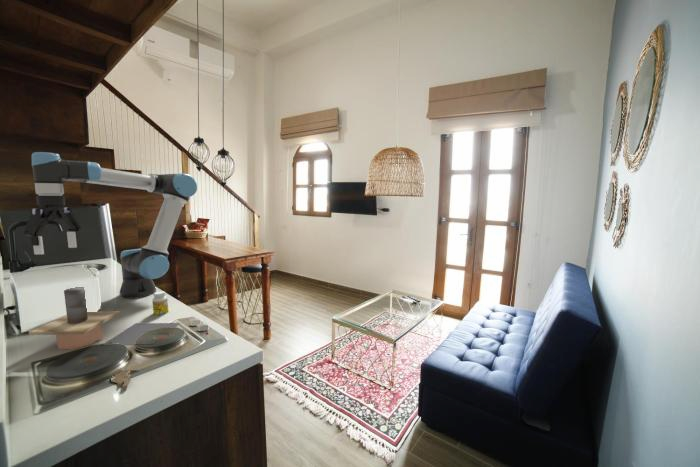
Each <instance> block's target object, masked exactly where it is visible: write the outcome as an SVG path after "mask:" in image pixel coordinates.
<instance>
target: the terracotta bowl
mask: <svg viewBox="0 0 700 467" xmlns="http://www.w3.org/2000/svg"><path fill="white" fill-rule="evenodd" d="M55 336H56V343H57V349H58V350H74V349H78V348H82V347H84V346H89V345H92V344H94V343H96V342H97V341H98V340H101V339H102V338H103V330H102V324H101V325H99V326H97V327H95V328H93V329H91V330H90V331H88V332H86V333H84V334H62V335H55Z"/></svg>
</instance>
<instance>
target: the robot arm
mask: <svg viewBox="0 0 700 467" xmlns="http://www.w3.org/2000/svg"><path fill="white" fill-rule="evenodd" d="M31 167H32V173H33V174H32V175H33V180H34V182H33V183H34V188H35V190H34V191H35V194H36V197H35V198H36V205H37V206H39V208H30V209H29V217H28V220H27V223H26V225H25V228H24V231H23V236H26V237H30V241H31V246H32V247H33V255H45V250H44V243H43V242H44V241H43V236H42V235H41V233H42V232H43V231H44V229H45V228H46V226H47V225H48V224H49V222H51V221H55V220H56V221H59V222H60V224H62V225H63V227H65V229H66V230H67V231H66V237H67V243H68V244H67V245H68V246H67V247H68V249H69V248H70V249H74V248H75V249H76V248H78V245H77V243H78V242H77V239H78V237H77V232H80V229H81V225H80V224H79V222H78V220H77V219H76V216H75V214H74V213H73V210H72V209H73V208H72V207H69V206H67V207H66V201H65V200H66V199H65V195H64V194H65V189H64V184H63V183H64V182H63V181H65V182H75V183H76V182H77V183H86V184H94V185H95V184H96V185H101V186H102V185H104V186H111V187H120V188H126V189H127V188H128V189H138V190H144V191H147V192H148V193H153V194H158V195H162V196H163V198H164V199H163V202H162V204H161V207H160V209H159V212H158V215H157V217H156V220H155V222H154V226H153V227H152V228H153V229H152V231H151V233H150V236H149V237H148V241H147V244H145V245H143V246H141V248H134V249H126V250H123V251H121V252H120V264H121V265H120V266H121V274H122V283H121V287H120V290H119V298H121V297H123V298H122V299H138V298H143V297H147V296H151V295H154V293H155V292H157V287H156V285H155V282H154V280H155V279H159V278H161V277H163V276H164V275H165V274H167V272H168V270H169V268H170V262H169V259H168V257H169V255H170V253H169V251H168V248H169V245H170V241H171V239H172V237H173V234H174V232H175V228H176V225H177V223H178V220H179V218H180V215H181V212H182V210H183V207H184V205H186V204H188V203H189V200H190V197H193V196H194V195H195V194H196V193H197V191H198V184H197V182H196V180H195V178H194V177H192V175H190V174H187V173H181V172H179V173H165V174H157V173H148V174H143V173H137V172H131V171H123V170H117V169H112V168H105V167H101V166H100V164H99V163H97V162H94V161H93V162H91V161H82V160H68V159H62V158H61V157H60V154H58V153H56V152H55V153H53V152H45V151H44V152H43V151H39V152H38V151H36V152H32V154H31ZM40 235H41V236H40ZM155 287H156V288H155ZM150 294H151V295H150ZM137 297H138V298H137Z"/></svg>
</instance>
